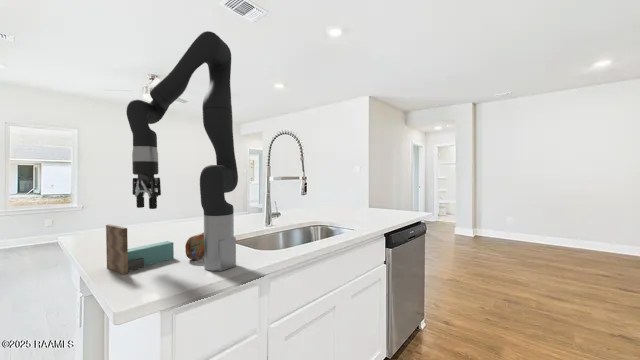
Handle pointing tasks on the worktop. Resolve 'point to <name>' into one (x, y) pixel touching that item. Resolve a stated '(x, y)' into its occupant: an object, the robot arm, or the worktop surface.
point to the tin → (195, 247)
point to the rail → (152, 252)
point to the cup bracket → (119, 251)
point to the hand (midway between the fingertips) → (146, 208)
